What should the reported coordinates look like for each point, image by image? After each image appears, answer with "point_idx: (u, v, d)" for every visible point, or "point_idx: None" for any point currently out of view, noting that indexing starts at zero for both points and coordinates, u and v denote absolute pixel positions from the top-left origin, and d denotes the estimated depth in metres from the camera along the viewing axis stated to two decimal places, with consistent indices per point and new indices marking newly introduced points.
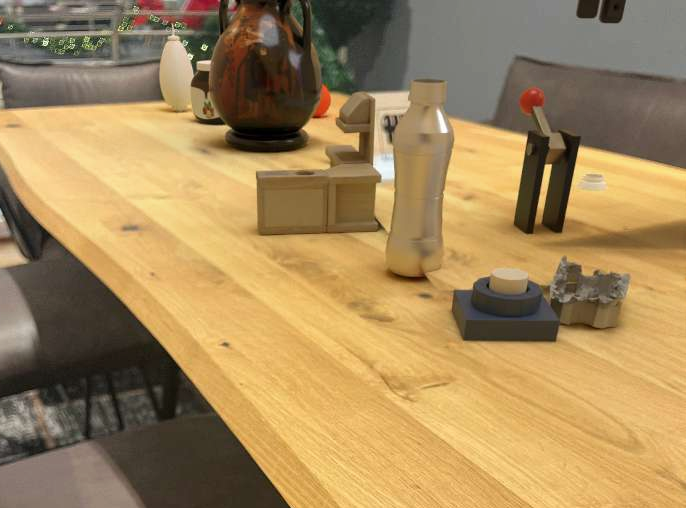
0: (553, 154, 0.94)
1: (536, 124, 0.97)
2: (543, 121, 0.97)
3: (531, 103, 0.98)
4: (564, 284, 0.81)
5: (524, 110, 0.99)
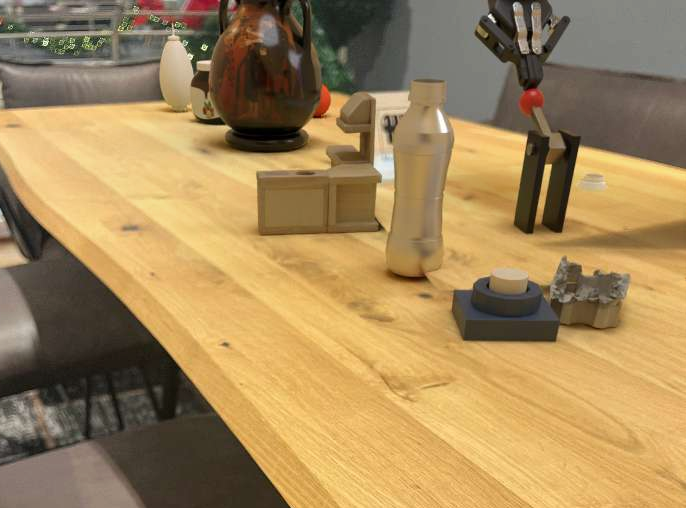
0: (553, 154, 0.94)
1: (536, 125, 0.97)
2: (543, 122, 0.97)
3: (531, 104, 0.98)
4: (564, 284, 0.81)
5: (524, 111, 0.99)
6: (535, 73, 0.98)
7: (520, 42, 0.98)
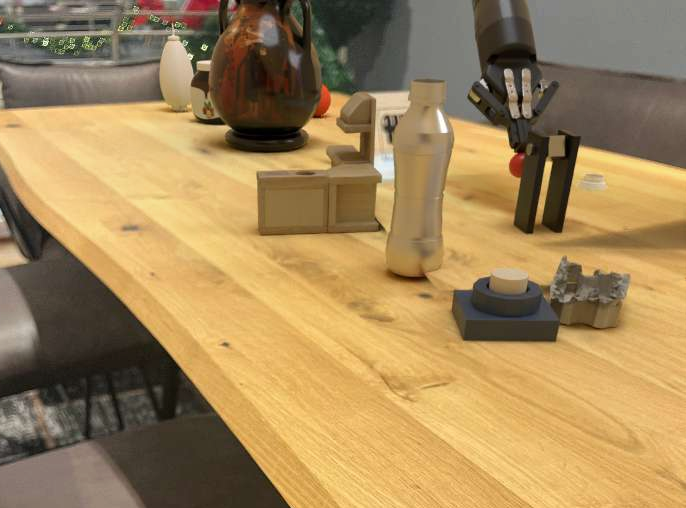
0: (554, 143, 0.94)
1: None
2: None
3: (520, 158, 1.02)
4: (564, 284, 0.81)
5: (516, 168, 1.03)
6: (525, 137, 1.02)
7: (511, 107, 1.02)
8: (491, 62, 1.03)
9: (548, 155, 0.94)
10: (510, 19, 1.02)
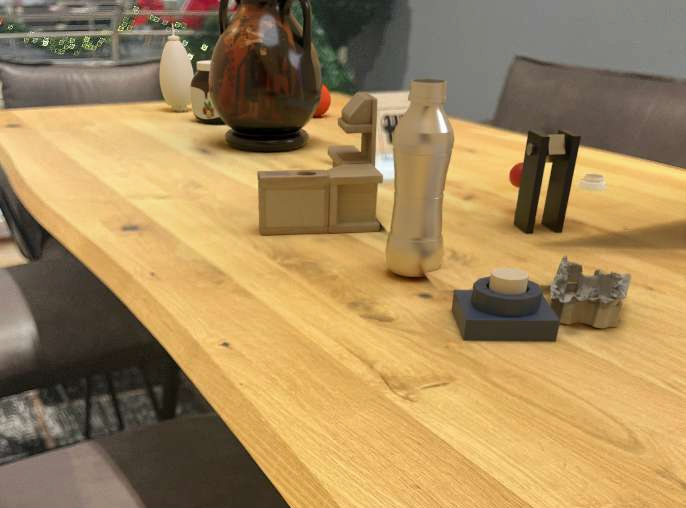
0: (554, 141, 0.94)
1: None
2: None
3: (520, 167, 1.03)
4: (565, 284, 0.81)
5: (516, 177, 1.03)
6: None
7: None
8: None
9: (549, 153, 0.94)
10: None
